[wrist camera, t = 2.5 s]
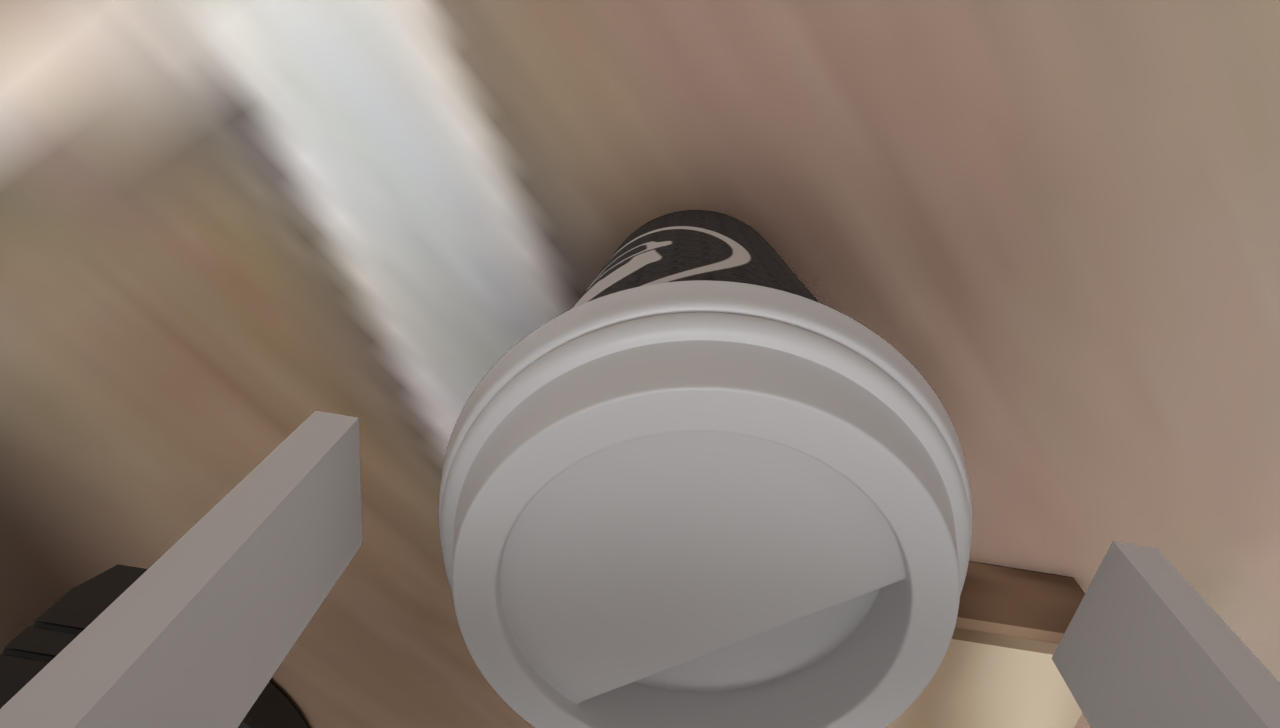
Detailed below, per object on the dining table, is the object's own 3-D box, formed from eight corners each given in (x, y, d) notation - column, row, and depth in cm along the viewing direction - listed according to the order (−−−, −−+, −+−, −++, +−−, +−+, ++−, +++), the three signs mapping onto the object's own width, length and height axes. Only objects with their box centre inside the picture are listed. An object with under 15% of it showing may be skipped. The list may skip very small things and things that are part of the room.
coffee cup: (583, 434, 27) (477, 822, 14) (533, 182, 23) (316, 368, 10) (837, 410, 26) (1000, 805, 12) (827, 142, 22) (1046, 287, 9)
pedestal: (673, 758, 34) (671, 843, 31) (729, 524, 28) (735, 593, 25) (960, 803, 34) (992, 893, 31) (1073, 577, 28) (1130, 655, 25)
